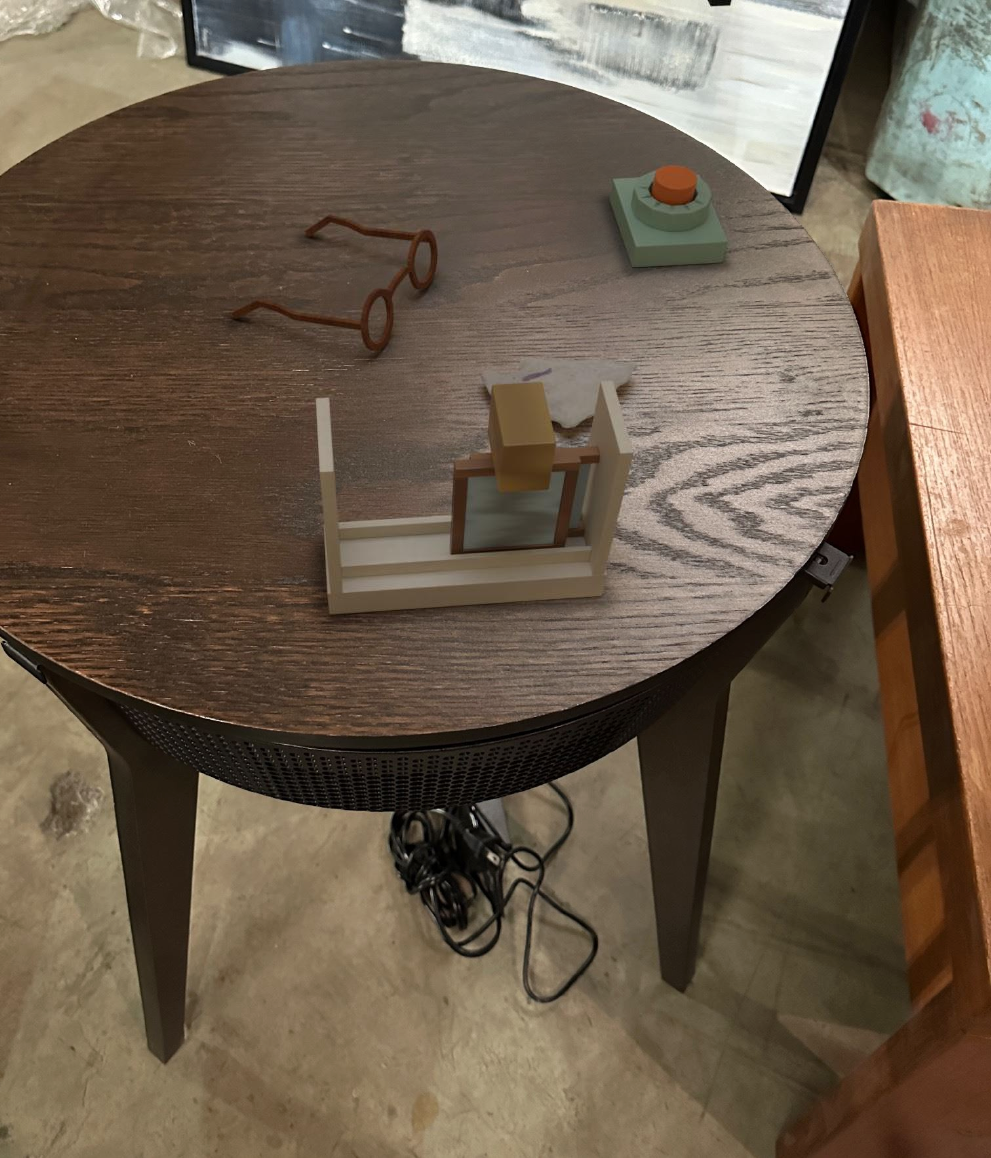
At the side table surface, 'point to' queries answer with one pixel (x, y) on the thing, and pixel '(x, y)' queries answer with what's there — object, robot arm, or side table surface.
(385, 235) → the glasses
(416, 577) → the window frame
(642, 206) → the button box
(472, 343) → the side table surface
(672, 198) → the button
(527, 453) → the pane
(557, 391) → the decorative stone
